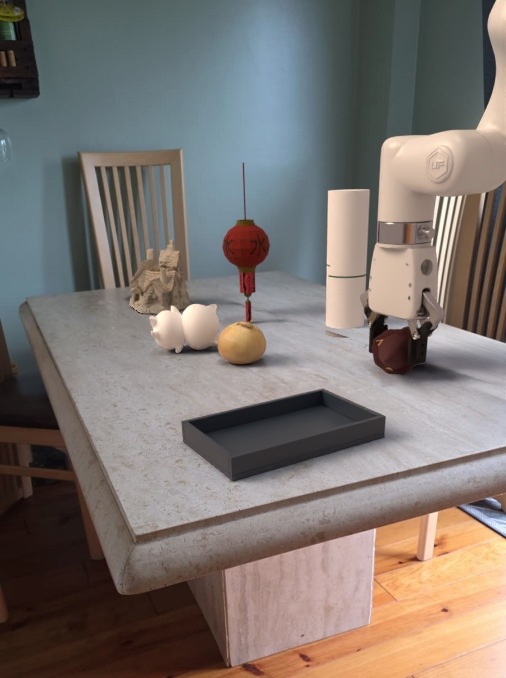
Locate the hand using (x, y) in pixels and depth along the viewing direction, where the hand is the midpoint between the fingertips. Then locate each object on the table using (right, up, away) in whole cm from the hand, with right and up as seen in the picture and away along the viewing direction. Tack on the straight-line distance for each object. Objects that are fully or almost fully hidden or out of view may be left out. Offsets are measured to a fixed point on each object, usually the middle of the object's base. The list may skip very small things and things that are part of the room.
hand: (396, 356), depth 94 cm
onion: (-23, 0, +9) cm, 25 cm away
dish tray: (-18, -13, -21) cm, 31 cm away
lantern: (-22, +12, +35) cm, 43 cm away
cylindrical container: (-4, +8, +24) cm, 26 cm away
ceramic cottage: (-44, +20, +53) cm, 72 cm away
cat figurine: (-33, +4, +18) cm, 38 cm away
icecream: (0, -2, +1) cm, 3 cm away
